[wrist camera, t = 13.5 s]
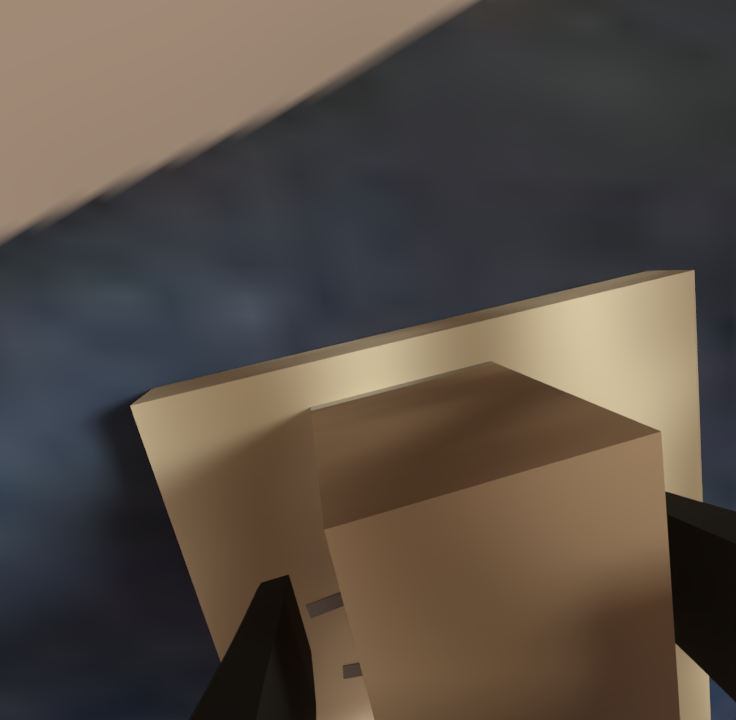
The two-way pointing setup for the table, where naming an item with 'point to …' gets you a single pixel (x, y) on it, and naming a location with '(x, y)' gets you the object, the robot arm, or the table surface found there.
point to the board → (381, 370)
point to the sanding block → (499, 550)
